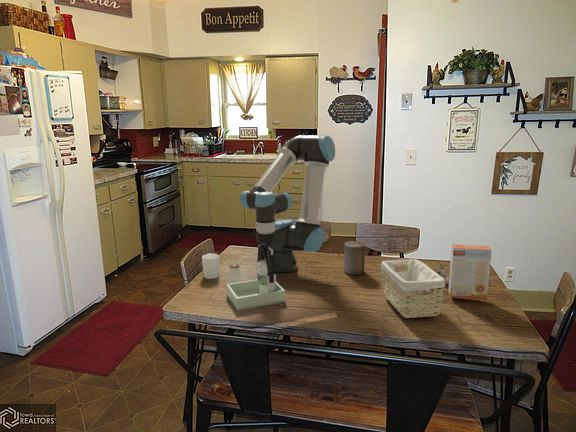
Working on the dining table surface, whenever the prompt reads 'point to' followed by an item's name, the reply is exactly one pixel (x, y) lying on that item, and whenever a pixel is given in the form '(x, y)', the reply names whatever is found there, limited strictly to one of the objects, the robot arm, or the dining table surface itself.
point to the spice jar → (234, 273)
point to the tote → (252, 295)
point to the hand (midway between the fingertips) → (266, 285)
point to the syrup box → (263, 277)
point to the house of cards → (443, 274)
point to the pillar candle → (354, 257)
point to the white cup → (210, 265)
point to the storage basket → (412, 288)
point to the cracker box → (469, 271)
